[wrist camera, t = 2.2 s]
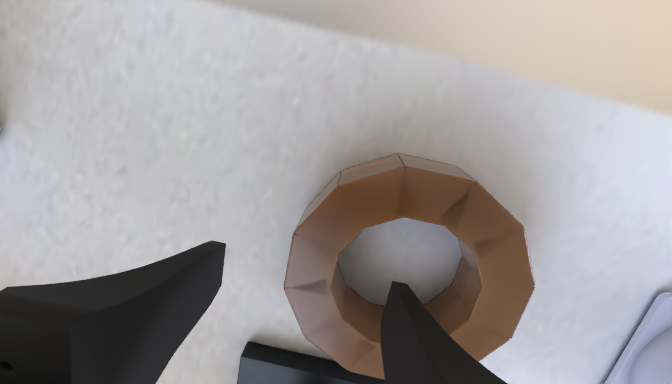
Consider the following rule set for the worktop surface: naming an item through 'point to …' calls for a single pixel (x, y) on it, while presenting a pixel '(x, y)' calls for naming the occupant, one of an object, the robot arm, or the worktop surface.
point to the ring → (420, 204)
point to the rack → (293, 368)
